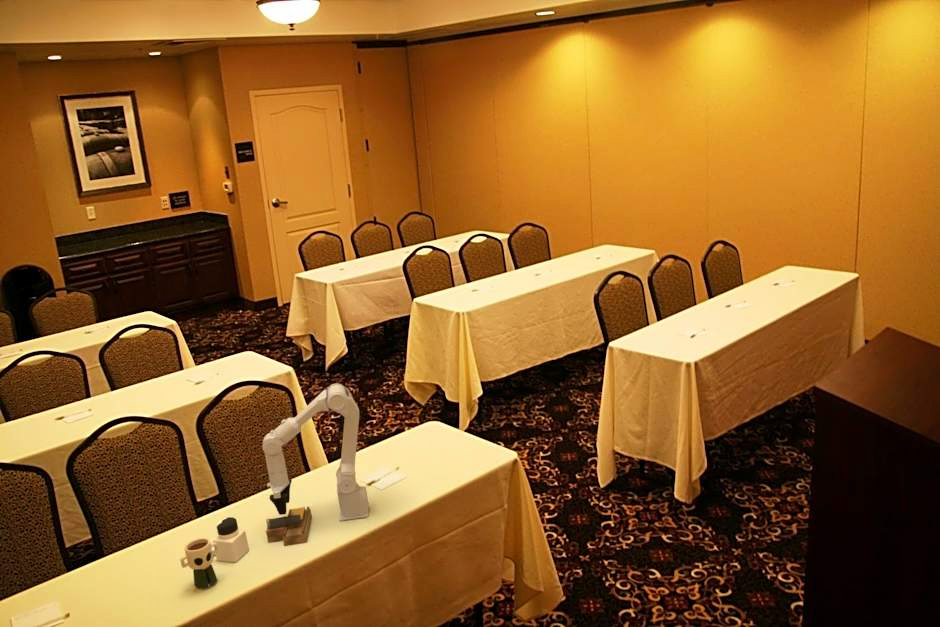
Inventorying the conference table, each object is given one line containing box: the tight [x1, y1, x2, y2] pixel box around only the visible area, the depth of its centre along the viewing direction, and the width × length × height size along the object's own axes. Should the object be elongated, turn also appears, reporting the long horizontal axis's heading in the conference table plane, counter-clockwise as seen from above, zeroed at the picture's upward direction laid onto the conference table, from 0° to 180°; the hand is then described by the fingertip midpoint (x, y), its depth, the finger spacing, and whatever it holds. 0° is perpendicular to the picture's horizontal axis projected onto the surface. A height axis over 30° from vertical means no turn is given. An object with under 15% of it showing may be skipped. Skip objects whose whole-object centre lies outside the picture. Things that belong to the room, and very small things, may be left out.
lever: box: [265, 514, 302, 529], centre depth 245 cm, size 11×1×3 cm, turn 95°
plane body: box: [265, 506, 313, 547], centre depth 249 cm, size 12×16×4 cm
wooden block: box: [289, 506, 307, 527], centre depth 250 cm, size 4×8×2 cm, turn 5°
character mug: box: [179, 537, 218, 590], centre depth 224 cm, size 11×7×13 cm, turn 131°
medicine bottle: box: [212, 516, 250, 563], centre depth 238 cm, size 7×7×12 cm
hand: (284, 508), depth 251 cm, fingers open, 7 cm apart
